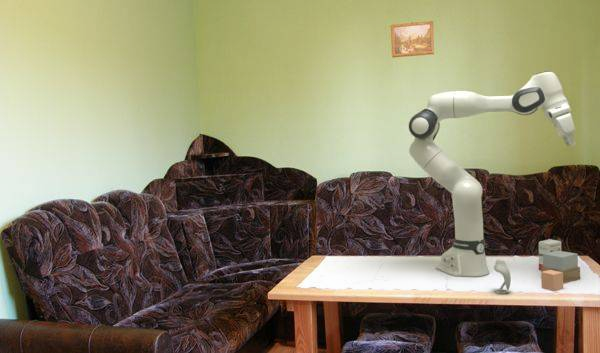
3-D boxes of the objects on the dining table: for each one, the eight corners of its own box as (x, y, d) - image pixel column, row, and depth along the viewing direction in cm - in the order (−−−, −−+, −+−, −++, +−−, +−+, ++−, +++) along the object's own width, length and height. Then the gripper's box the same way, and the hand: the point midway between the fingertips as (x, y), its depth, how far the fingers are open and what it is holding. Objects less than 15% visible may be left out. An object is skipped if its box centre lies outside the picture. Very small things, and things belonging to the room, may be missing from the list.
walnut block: (541, 279, 187) (541, 266, 187) (558, 275, 191) (558, 262, 191) (563, 284, 179) (562, 271, 179) (580, 279, 183) (579, 266, 183)
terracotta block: (541, 288, 175) (541, 271, 175) (550, 285, 177) (550, 269, 177) (554, 291, 171) (553, 274, 170) (563, 289, 173) (563, 272, 173)
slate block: (543, 266, 186) (542, 253, 186) (558, 262, 190) (558, 250, 190) (562, 270, 179) (562, 257, 179) (577, 266, 183) (577, 253, 183)
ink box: (549, 272, 195) (548, 243, 194) (538, 270, 199) (537, 241, 198) (562, 268, 199) (561, 240, 198) (551, 266, 203) (550, 238, 203)
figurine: (512, 295, 168) (511, 261, 168) (496, 295, 170) (495, 261, 169) (509, 289, 176) (508, 256, 175) (493, 288, 177) (492, 256, 176)
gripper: (545, 116, 194) (558, 148, 193) (551, 113, 175) (566, 148, 174) (562, 110, 191) (575, 143, 190) (570, 106, 172) (585, 142, 171)
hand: (571, 145), depth 182 cm, fingers open, 8 cm apart
